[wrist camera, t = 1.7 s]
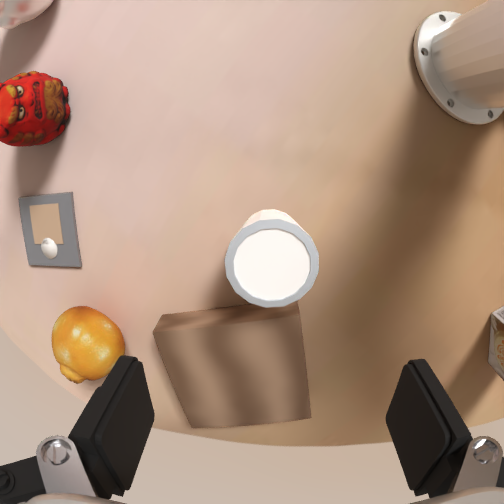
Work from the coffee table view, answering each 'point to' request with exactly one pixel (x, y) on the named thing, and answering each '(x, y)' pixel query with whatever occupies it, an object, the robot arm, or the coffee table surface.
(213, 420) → the walnut block
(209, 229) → the coffee table surface
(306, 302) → the coffee table surface
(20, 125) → the red clay folk toy
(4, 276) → the coffee table surface
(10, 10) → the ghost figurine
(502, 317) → the coffee box
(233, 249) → the shot glass
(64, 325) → the fruit
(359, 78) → the coffee table surface
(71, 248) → the card
